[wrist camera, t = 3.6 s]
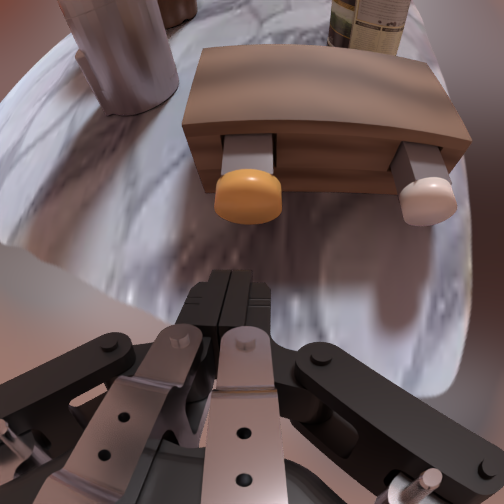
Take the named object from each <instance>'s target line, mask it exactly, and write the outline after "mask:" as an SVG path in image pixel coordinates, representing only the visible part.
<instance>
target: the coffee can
mask: <svg viewBox="0 0 504 504" xmlns="http://www.w3.org/2000/svg"><path fill="white" fill-rule="evenodd" d="M410 1H411V0H332V7H331V17H330V27H329V35H328V39H327V41H328V44H329V46H330V47H339V48H348V49H356V50H363V51H370V52H376V53H382V54H388V55H393V56H396V54H397V50H398V47H399V43H400V40H401V36H402V33H403V29H404V25H405V21H406V18H407V14H408V9H409V5H410Z"/></svg>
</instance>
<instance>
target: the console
mask: <svg viewBox="0 0 504 504" xmlns="http://www.w3.org/2000/svg"><path fill="white" fill-rule="evenodd" d="M182 128H183V131H184V134H185V136H186V139H187V142H188V145H189V148H190V151H191V154H192V157H193V159H194V162H195V165H196V168H197V171H198V174H199V176H200V179H201V182H202V185H203V188H204V190H205V193H216V184H217V182H218V180H219V179H220V178H221V170H222V160H223V150H224V140H225V135H228V134H255V133H272V149H273V176H274V177H276V178H277V179H278V180H279V182H280V184H281V191H294V192H347V193H372V194H391V195H398V194H397V190H396V186H395V182H394V178H393V175H392V171H391V167H390V163H391V161H392V159H393V157H394V155H395V153H396V151H397V149H398V147H399V145H400V143H401V141H408V142H415V143H422V144H429V145H435V146H438V148H439V150H440V153H441V155H442V158H443V161H444V163H445V166H446V168H447V171H448V174H450V172H451V171H452V170H453V168H454V167H455V165H456V164H457V163H458V161H459V160H460V159H461V157H462V156H463V154H464V153H465V152H466V150H467V149H468V147H469V146H470V144H471V143H472V139H471V137H470V135H469V133H468V131H467V129H466V127H465V125H464V123H463V121H462V120H461V118H460V116H459V114H458V112H457V111H456V109H455V107H454V105H453V104H452V102H451V100H450V98H449V97H448V95H447V94H446V92H445V90H444V89H443V87H442V86H441V84H440V82H439V81H438V79H437V78H436V76H435V75H434V73H433V72H432V70H431V69H430V68H429V66H428V65H427V63H424V62H420V61H416V60H412V59H407V58H403V57H398V56H393V55H388V54H382V53H376V52H370V51H363V50H356V49H348V48H339V47H328V46H315V45H293V44H259V45H237V46H223V47H212V48H203V50H202V53H201V56H200V60H199V63H198V66H197V70H196V73H195V76H194V80H193V83H192V87H191V90H190V94H189V98H188V101H187V105H186V109H185V113H184V117H183V121H182Z"/></svg>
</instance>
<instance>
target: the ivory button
mask: <svg viewBox="0 0 504 504" xmlns="http://www.w3.org/2000/svg"><path fill="white" fill-rule="evenodd" d="M390 167H391V171H392V175H393V178H394V182H395V186H396V190H397V194H398V198H399V203H400V205H401V209H402V214H403V218H404V221H405V222H406V223H407V224H409V225H412V226H430V225H434V224H438V223H440V222H443V221H445V220H447V219H448V218H450V217H451V216H452V215H453V214H454V213H455V212H456V210H457V203H456V200H455V197H454V194H453V190H452V187H451V184H452V182H451V180H450V177H449V174H448V171H447V168H446V166H445V163H444V161H443V158H442V155H441V153H440V150H439V148H438V146H435V145H429V144H422V143H415V142H408V141H401V143H400V145H399V147H398V149H397V151H396V153H395V155H394V157H393V159H392V161H391V163H390Z"/></svg>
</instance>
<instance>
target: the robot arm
mask: <svg viewBox="0 0 504 504" xmlns="http://www.w3.org/2000/svg"><path fill="white" fill-rule="evenodd" d="M57 2H58V4H59V7H60V9H61V11H62V13H63V15H64V17H65V20H66V22H67V24H68V26H69V28H70V30H71V33H72V35H73V37H74V39H75V41H76V43H77V45H78V47H79V50H78V51H77V53H76V55H75V59H76V61H77V63H78V65H79V67H80V69H81V71H82V73H83V74H84V76H85V78H86V80H87V82H88V84H89V86H90V87H91V89H92V91H93V93H94V95H95V97H96V98H97V100H98V102H99V104H100V106H101V107H102V109H103V111H104V113H105V115H106V116H108V115H111V114H117V115H134V114H138V113H142V112H144V111H147V110H149V109H152V108H154V107H156V106H157V105H159V104H161V103H162V102H164V101H165V100H166V99H168V98H169V97H170V96H171V95H172V94H173V93H174V92H175V90H176V89H177V87H178V85H179V77H178V73H177V68H176V65H175V62H174V59H173V56H172V52H171V49H170V45H169V42H168V38H167V35H166V31H165V28H164V24H163V20H162V17H161V13H160V10H159V6H158V2H157V0H57ZM270 318H271V290H270V288H269V287H268V286H267V284H266V283H253V282H252V270H233V271H232V270H212V273H211V275H210V278H209V280H208V282H199V283H197V284H196V285H195V286H194V287H192V288H191V290H190V292H189V294H188V296H187V298H186V300H185V303H184V305H183V307H182V309H181V312H180V314H179V316H178V318H177V320H176V323H175V325H171V326H169V327H167V328H165V329H163V330H162V331H161V332H160V333H159V335H158V336H157V338H156V340H155V341H154V342H153V343H146V344H139V345H132V342H131V339H130V338H129V337H128V336H127V335H125V334H123V333H119V332H112V333H107V334H104V335H102V336H100V337H98V338H96V339H93V340H91V341H89V342H87V343H85V344H83V345H81V346H79V347H77V348H75V349H73V350H71V351H69V352H67V353H65V354H63V355H61V356H59V357H57V358H55V359H52V360H50V361H48V362H46V363H44V364H42V365H40V366H38V367H36V368H34V369H32V370H30V371H28V372H26V373H24V374H22V375H19V376H17V377H15V378H14V379H11V380H9V381H7V382H5V383H3V384H1V385H0V504H347V503H346V502H345V501H344V500H342V499H341V498H340V497H339V496H338V495H337V494H336V493H335V492H334V491H333V490H331V489H330V488H329V487H328V486H327V485H326V484H325V483H324V482H323V481H322V480H321V479H320V478H319V477H318V476H316V475H315V474H314V473H312V472H311V471H309V470H308V469H307V468H305V467H303V466H301V465H300V464H297V463H295V462H293V461H290V460H287V459H284V454H283V445H282V434H281V424H280V416H281V417H284V418H288V419H290V422H291V424H292V425H293V426H294V427H295V428H296V429H297V430H298V431H299V432H300V433H301V434H302V435H303V436H304V437H305V438H307V439H308V440H309V441H310V442H311V443H312V444H313V445H314V446H315V447H317V448H318V449H319V450H320V451H321V452H322V453H324V454H325V455H326V456H327V457H328V458H329V459H331V460H332V461H333V462H334V463H335V464H336V465H338V466H339V467H340V468H341V469H342V470H344V471H345V472H346V473H347V474H348V475H350V476H351V477H352V478H353V479H355V480H356V481H357V482H358V483H360V484H361V485H362V486H364V487H365V488H366V489H367V490H369V491H370V492H371V493H373V494H374V495H375V496H377V498H376V501H375V504H481V503H482V502H483V501H485V500H486V499H488V498H489V497H491V496H492V495H493V494H495V493H496V492H497V491H498V490H500V489H501V488H502V487H503V486H504V451H503V450H502V449H500V448H499V447H497V446H495V445H494V444H492V443H490V442H488V441H486V440H485V439H483V438H482V437H480V436H478V435H476V434H475V433H473V432H471V431H470V430H468V429H466V428H465V427H463V426H461V425H460V424H458V423H456V422H455V421H453V420H452V419H450V418H448V417H447V416H445V415H443V414H442V413H440V412H438V411H437V410H435V409H434V408H432V407H430V406H429V405H427V404H425V403H424V402H422V401H421V400H419V399H418V398H416V397H414V396H413V395H411V394H410V393H408V392H407V391H405V390H403V389H402V388H400V387H399V386H397V385H396V384H394V383H392V382H391V381H389V380H388V379H386V378H385V377H383V376H382V375H380V374H378V373H377V372H375V371H374V370H372V369H371V368H369V367H368V366H366V365H365V364H363V363H362V362H360V361H359V360H357V359H356V358H354V357H353V356H351V355H350V354H348V353H347V352H345V351H344V350H342V349H341V348H339V347H337V346H336V345H333V344H330V343H326V342H314V343H309V344H307V345H305V346H303V347H301V348H300V349H299V350H298V351H293V350H289V349H286V348H283V347H281V346H279V345H278V344H277V343H275V342H274V341H273V339H272V338H271V335H270ZM214 379H217V386H216V389H214V390H212V388H213V383H214ZM102 383H104V384H105V386H106V388H107V390H108V391H106V392H105V393H103V394H101V395H99V396H97V397H95V398H94V399H92V400H90V401H88V402H86V403H84V404H82V405H81V406H78V407H73V406H70V405H69V403H70V401H71V400H72V399H74V398H76V397H77V396H79V395H81V394H83V393H85V392H87V391H89V390H91V389H92V388H94V387H96V386H98V385H100V384H102ZM209 408H210V410H209ZM208 411H209V419H208V429H207V439H206V447H203V448H199V441H200V437H201V434H202V431H203V427H204V424H205V421H206V418H207V414H208Z"/></svg>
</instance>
